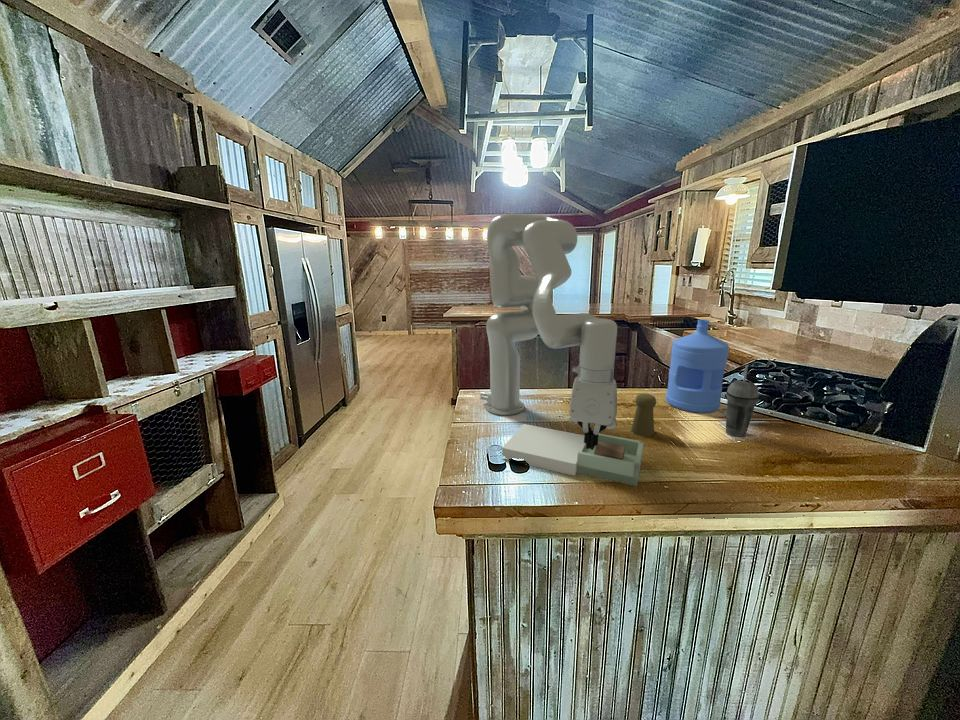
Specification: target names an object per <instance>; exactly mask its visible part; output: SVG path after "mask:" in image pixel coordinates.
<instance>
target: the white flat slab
mask: <svg viewBox="0 0 960 720" xmlns="http://www.w3.org/2000/svg"><path fill="white" fill-rule="evenodd" d="M584 435H585V434H580V433H579V434H578V433H574V432H568V431H564V430H557V429H552V428H547V427H543V426H542V427H541V426H536V425H531V424H526V423H523V424H522V425H521V426H520V427H519V429H517V430H516V432H514V434H513V435H512V436H511V437H510V438H509V440H508V441H507V442H506V443H505V444H504V445H503V446H502V448H501V449H502V450H501V451H502V452H501V455H503V456H505V457H506V458H507V459H511V458H517V459H519V458H520V459H521V458H522V459H524V460H525V461H526V462H527V463H528V464H529V465H528V466H532V467H535V468H540V469H545V470H549V471H553V472H558V473H561V474H566V475H570V476H576V475H577V456H578V451H580V452H583V451H584V449H585V447H586V443H584Z"/></svg>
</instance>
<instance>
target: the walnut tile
mask: <svg viewBox="0 0 960 720" xmlns="http://www.w3.org/2000/svg"><path fill="white" fill-rule="evenodd" d="M624 452H625V446H620V445H615V444H610V443H605V442H600V441H599V442H598V445H597V447H596V449H595V452H594V454H595V455H600V456H605V457H609V458H614V459H619V460H623V458H624Z"/></svg>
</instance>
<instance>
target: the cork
mask: <svg viewBox="0 0 960 720" xmlns="http://www.w3.org/2000/svg"><path fill="white" fill-rule="evenodd" d="M656 404H657V399H656V397H655V396H654V395H653V394H650V393H639V394H638V395H637V396H636V397H635V405H636V409H635V414H634V417H633V420H632V421H633V422H632V424H631V430H630V431H631V433H632V432H633V433H632V434H634V435H636V436H638V437H639V436H640V437H644V436H645V438H646V437H647V436H649V437H652V436H651V435H653V434H654V435H655V421H654V420H655V419H654V408H655V407H656ZM654 435H653V436H654Z"/></svg>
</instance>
